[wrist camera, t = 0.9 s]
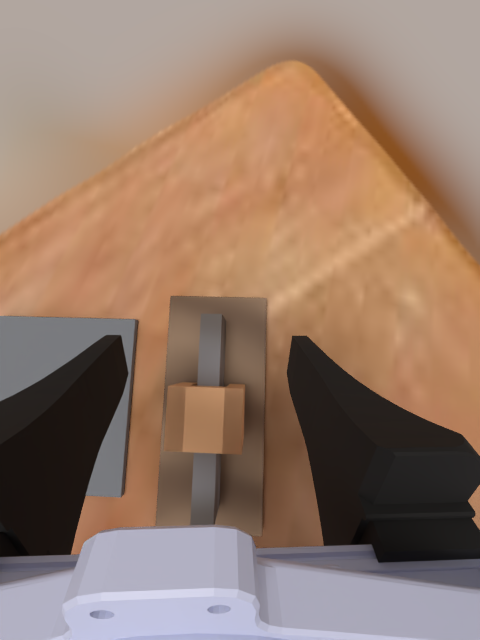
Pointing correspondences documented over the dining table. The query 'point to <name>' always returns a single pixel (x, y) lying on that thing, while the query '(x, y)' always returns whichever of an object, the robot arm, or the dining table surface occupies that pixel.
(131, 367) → the mat
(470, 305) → the dining table surface
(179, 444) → the u-shaped block
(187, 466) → the stand
